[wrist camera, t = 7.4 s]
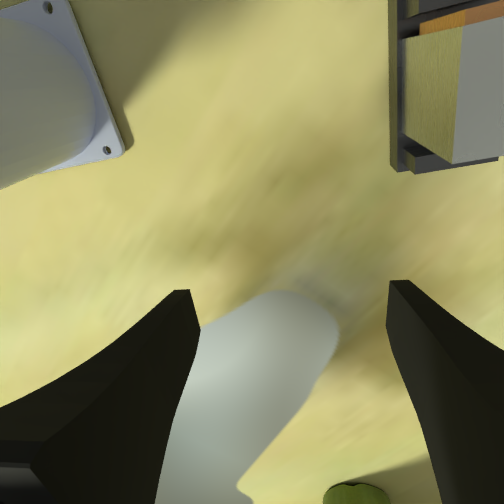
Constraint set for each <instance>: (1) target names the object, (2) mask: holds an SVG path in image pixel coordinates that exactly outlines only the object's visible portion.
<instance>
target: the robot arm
mask: <svg viewBox="0 0 504 504" xmlns="http://www.w3.org/2000/svg"><path fill="white" fill-rule="evenodd" d="M49 3H51V5H52V7H53V12H52V13H51V14H50V12H49V11H48V4H49ZM106 146H108V147H109V148H110V149H111V153H108V152H107V150H106ZM124 153H125V146H124V143H123V141H122V138H121V135H120V133H119V130H118V128H117V125H116V122H115V120H114V117H113V115H112V112H111V110H110V107H109V104H108V102H107V99H106V97H105V94H104V91H103V89H102V86H101V84H100V81H99V79H98V76H97V73H96V71H95V68H94V66H93V63H92V60H91V58H90V55H89V53H88V50H87V47H86V45H85V42H84V40H83V37H82V35H81V32H80V29H79V27H78V24H77V22H76V19H75V16H74V14H73V11H72V9H71V6H70V4H69V2H68V0H28V1H25V2H22V3H19V4H16V5H13V6H10V7H7V8H4V9H1V10H0V190H1V189H3V188H6V187H8V186H10V185H13V184H15V183H17V182H19V181H22V180H24V179H26V178H29V177H31V176H33V175H36V174H40V173H45V172H49V171H54V170H59V169H64V168H68V167H73V166H78V165H83V164H88V163H92V162H97V161H102V160H107V159H111V158H116V157H119V156H121V155H123V154H124ZM386 329H387V333H388V337H389V341H390V345H391V349H392V353H393V355H394V358H395V360H396V363H397V365H398V368H399V371H400V373H401V376H402V378H403V381H404V383H405V386H406V388H407V391H408V393H409V396H410V398H411V401H412V403H413V406H414V408H415V411H416V413H417V416H418V419H419V422H420V425H421V428H422V431H423V434H424V438H425V441H426V445H427V448H428V452H429V455H430V459H431V462H432V466H433V470H434V473H435V477H436V481H437V485H438V488H439V492H440V496H441V500H442V504H504V350H502V349H500V348H499V347H497V346H495V345H494V344H492V343H491V342H489V341H488V340H486V339H484V338H483V337H482V336H480V335H479V334H477V333H476V332H474V331H473V330H472V329H470V328H469V327H467V326H466V325H464V324H463V323H462V322H460V321H459V320H458V319H456V318H455V317H454V316H452V315H451V314H450V313H449V312H447V311H446V310H445V309H443V308H442V307H441V306H440V305H438V304H437V303H436V302H435V301H434V300H432V299H431V298H430V297H429V296H428V295H426V294H425V293H424V292H423V291H422V290H420V289H419V288H418V287H417V286H416V285H414V284H413V283H412V282H411V281H410V280H392V281H390V284H389V295H388V306H387V317H386ZM200 331H201V329H200V326H199V322H198V318H197V315H196V311H195V307H194V304H193V300H192V296H191V293H190V289H186V290H174V291H173V292H171V293H170V294H169V295H168V296H167V297H165V298H164V299H163V300H162V301H161V302H160V303H159V304H158V305H156V306H155V307H154V308H153V309H152V310H151V311H150V312H149V313H147V314H146V315H145V316H144V317H143V318H142V319H141V320H139V321H138V322H137V323H136V324H135V325H134V326H132V327H131V328H130V329H129V330H127V331H126V332H125V333H124V334H122V335H121V336H120V337H119V338H118V339H116V340H115V341H114V342H113V343H111V344H110V345H109V346H107V347H106V348H104V349H103V350H102V351H100V352H99V353H97V354H96V355H94V356H93V357H91V358H90V359H89V360H87V361H86V362H84V363H82V364H81V365H79V366H78V367H76V368H74V369H73V370H71V371H69V372H68V373H66V374H64V375H63V376H61V377H59V378H58V379H56V380H54V381H52V382H51V383H49V384H47V385H45V386H43V387H41V388H39V389H38V390H36V391H34V392H32V393H30V394H28V395H26V396H24V397H22V398H20V399H18V400H16V401H14V402H11V403H9V404H7V405H5V406H3V407H0V504H154V503H155V498H156V493H157V488H158V483H159V478H160V474H161V469H162V464H163V460H164V455H165V451H166V447H167V442H168V439H169V435H170V430H171V426H172V422H173V418H174V416H175V412H176V409H177V406H178V404H179V401H180V397H181V395H182V392H183V389H184V386H185V384H186V381H187V378H188V375H189V372H190V370H191V367H192V364H193V361H194V358H195V355H196V351H197V346H198V342H199V336H200Z"/></svg>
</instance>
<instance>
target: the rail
mask: <svg viewBox="0 0 504 504" xmlns="http://www.w3.org/2000/svg"><path fill="white" fill-rule="evenodd" d="M497 1H500V0H388V36H389V117H390V165H391V166H392V167H393V169H394V170H395V171H396V172H403V171H409V170H410V171H411V172H413V173H414V174H420V173H427V172H433V171H439V170H445V169H451V168H457V167H463V166H469V165H475V164H481V163H487V162H493V161H498V158H499V156H498V157H492V158H486V159H480V160H474V161H468V162H462V163H456V164H451V163H449V162H448V161H446V160H445V159H443V158H441V157H440V156H438V155H437V154H435V153H434V152H432V151H430V150H429V149H427V148H426V147H424V146H422V145H421V144H419V143H418V142H416V141H415V140H413V139H411V138H410V137H408V136H407V135H405V134H403V133H402V39H406V38H410V37H414V36H418V35H419V34H420V23H424V22H427V21H430V20H433V19H436V18H440V17H443V16H446V15H449V14H452V13H455V12H459V11H462V10H465V9H469V8H473V7H477V6H481V5H485V4H489V3H493V2H497Z"/></svg>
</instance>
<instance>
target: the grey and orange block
mask: <svg viewBox="0 0 504 504" xmlns="http://www.w3.org/2000/svg"><path fill="white" fill-rule="evenodd" d="M402 133H403V134H405V135H407V136H408V137H410V138H411V139H413V140H415V141H416V142H418V143H419V144H421V145H422V146H424V147H426V148H427V149H429V150H430V151H432V152H434V153H435V154H437V155H438V156H440V157H441V158H443V159H445V160H446V161H448V162H449V163H451V164H456V163H462V162H468V161H474V160H480V159H486V158H492V157H498V156H504V0H501V1H497V2H493V3H489V4H485V5H481V6H477V7H473V8H469V9H465V10H462V11H459V12H455V13H452V14H449V15H446V16H443V17H440V18H436V19H433V20H430V21H427V22H424V23H420V34H419V35H418V36H414V37H410V38H406V39H402Z"/></svg>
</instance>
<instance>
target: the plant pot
mask: <svg viewBox="0 0 504 504" xmlns="http://www.w3.org/2000/svg"><path fill="white" fill-rule="evenodd" d="M323 504H391V503H390V500H389V498H388V496H387V495H386V494H385V493H384V492H383V491H382V490H380V489H378V488H376V487H373V486H370V485H367V484H358V485H356V486H348V485H345V484H343V485H338V486H335V487H333V488H331V489H330V490H328V491H327V492H326V493H325V495H324V497H323Z"/></svg>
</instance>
